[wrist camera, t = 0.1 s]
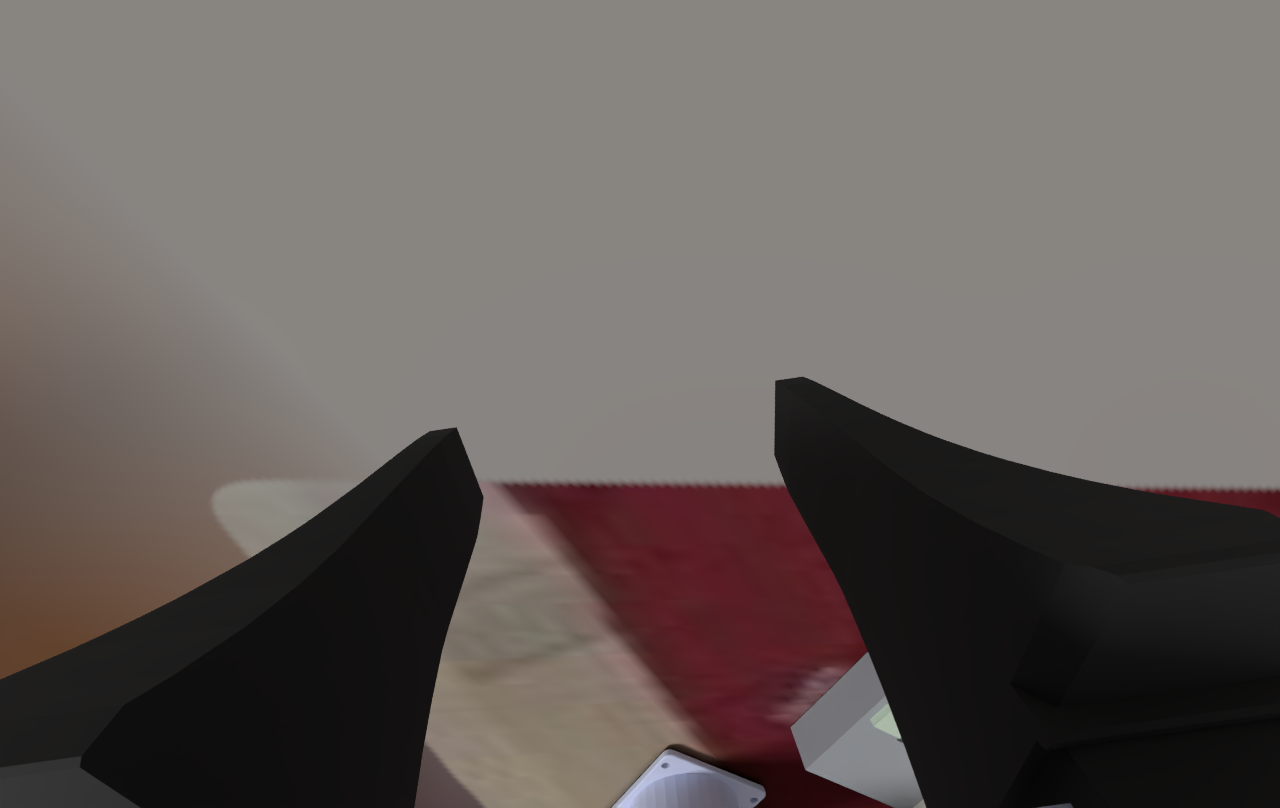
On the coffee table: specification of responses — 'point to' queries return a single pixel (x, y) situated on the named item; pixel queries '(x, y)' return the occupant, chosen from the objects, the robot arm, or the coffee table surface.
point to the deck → (858, 740)
